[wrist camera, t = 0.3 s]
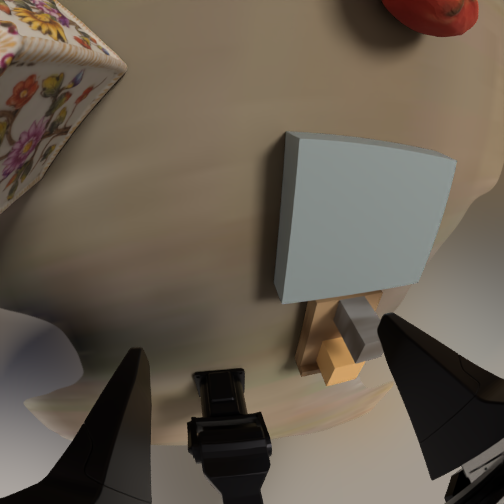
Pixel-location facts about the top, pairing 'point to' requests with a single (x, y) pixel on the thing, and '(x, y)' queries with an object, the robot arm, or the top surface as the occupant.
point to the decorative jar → (45, 87)
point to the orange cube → (337, 362)
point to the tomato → (435, 15)
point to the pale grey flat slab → (356, 214)
